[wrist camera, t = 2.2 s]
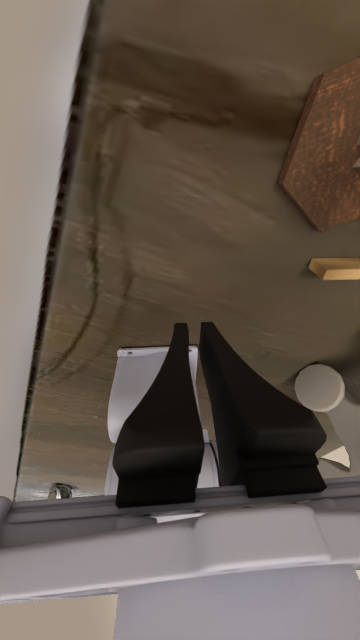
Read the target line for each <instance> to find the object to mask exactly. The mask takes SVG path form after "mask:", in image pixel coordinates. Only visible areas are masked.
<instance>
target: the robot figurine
mask: <svg viewBox="0 0 360 640" xmlns="http://www.w3.org/2000/svg"><path fill="white" fill-rule="evenodd" d="M277 182H278V184H279V185H280V186H281V187H282V189H283V190H284V191H285V192H286V194H287V195H288V196H289V197H290V199H291V200H292V201H293V202H294V204H295V205H296V206H297V207H298V209H299V210H300V211H301V212H302V214H303V215H304V216H305V217H306V218H307V220H308V221H309V222H310V223H311V225H312V226H313V227H314V228H315V229H317V230H318V231H320V232H322V231H325V230H327V229H330V228H333V227H335V226H338V225H341V224H343V223H346V222H349V221H351V220H354V219H357V218H360V56H359V57H357V58H355V59H353V60H351V61H348V62H346V63H344V64H342V65H340V66H338V67H336V68H334V69H332V70H330V71H328V72H326V73H324V74H322V75H320V76H318V77H316V78H315V79H314V82H313V85H312V88H311V90H310V93H309V96H308V99H307V101H306V104H305V107H304V110H303V112H302V115H301V118H300V121H299V123H298V126H297V129H296V132H295V134H294V137H293V140H292V143H291V145H290V148H289V151H288V154H287V156H286V159H285V162H284V165H283V167H282V170H281V173H280V176H279V178H278V181H277Z"/></svg>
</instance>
